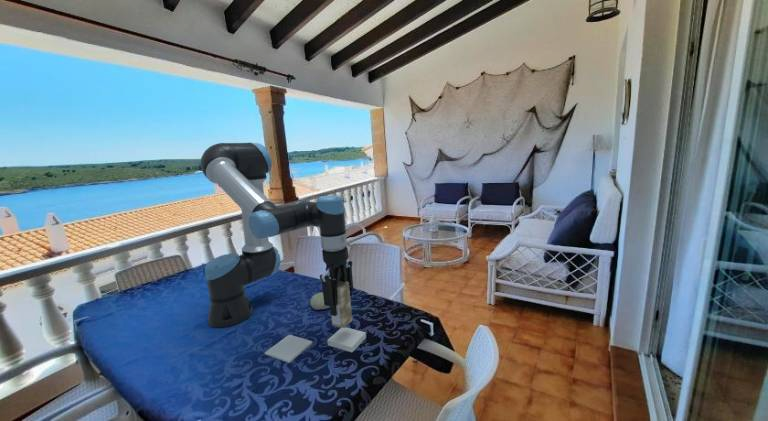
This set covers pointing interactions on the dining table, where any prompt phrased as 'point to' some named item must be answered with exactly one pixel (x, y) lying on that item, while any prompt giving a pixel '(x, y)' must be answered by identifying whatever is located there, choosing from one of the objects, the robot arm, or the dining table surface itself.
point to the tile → (347, 339)
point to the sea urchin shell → (318, 302)
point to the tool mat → (288, 348)
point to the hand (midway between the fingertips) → (341, 319)
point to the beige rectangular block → (344, 304)
